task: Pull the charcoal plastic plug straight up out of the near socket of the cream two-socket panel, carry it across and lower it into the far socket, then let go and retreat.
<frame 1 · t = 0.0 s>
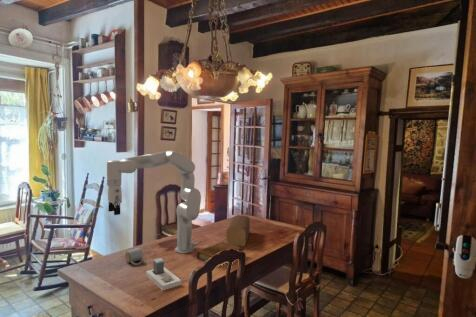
hand: (114, 212, 170), 31 cm above the table, fingers open, 9 cm apart
jack panel: (163, 280, 158), on the table
plug: (158, 276, 162), resting in jack panel
diary: (220, 258, 190), on the table
ceramic mug: (135, 262, 180), on the table
bread: (238, 239, 227), on the table
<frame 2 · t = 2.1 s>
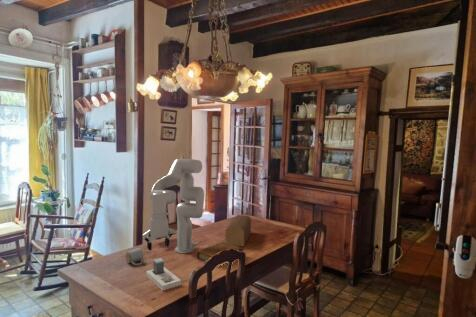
hand: (158, 247, 161), 16 cm above the table, fingers open, 9 cm apart
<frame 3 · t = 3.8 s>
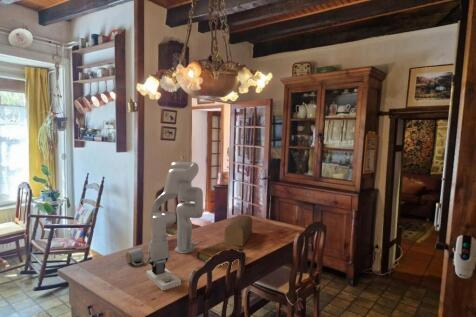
hand: (158, 271, 162), 3 cm above the table, fingers closed on plug, 4 cm apart
plug: (158, 276, 162), resting in jack panel, touching gripper
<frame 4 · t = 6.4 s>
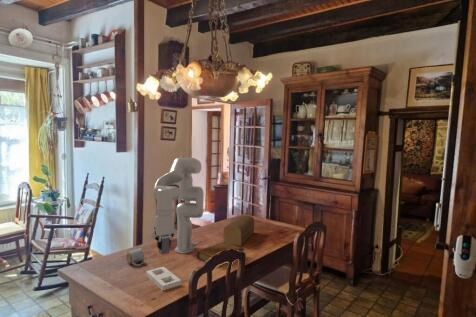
hand: (164, 247, 156), 18 cm above the table, fingers closed on plug, 4 cm apart
plug: (163, 252, 156), point 15 cm above the table, touching gripper
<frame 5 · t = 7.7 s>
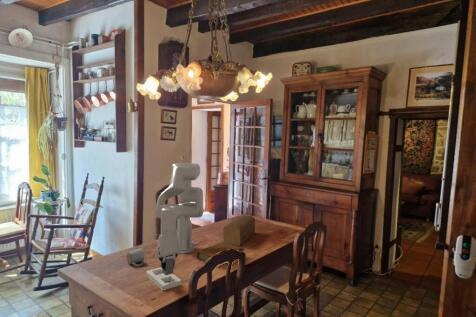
hand: (167, 267, 153), 9 cm above the table, fingers closed on plug, 4 cm apart
plug: (167, 273, 153), point 6 cm above the table, touching gripper
when the fingers open (4 cm above the table, at t = 8.9 s): plug drops 1 cm, resting in jack panel.
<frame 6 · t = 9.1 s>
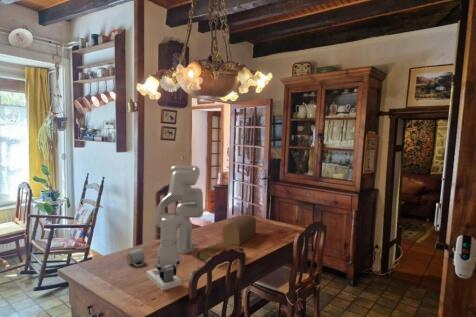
hand: (168, 276, 154), 4 cm above the table, fingers open, 6 cm apart
plug: (167, 284, 154), resting in jack panel
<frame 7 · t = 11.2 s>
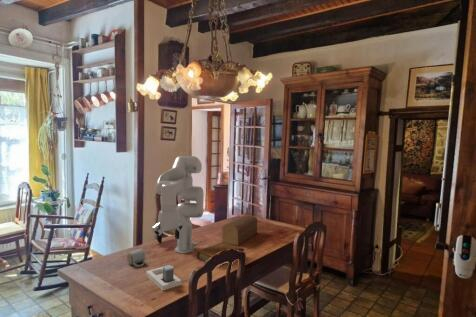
hand: (168, 240, 156), 21 cm above the table, fingers open, 9 cm apart
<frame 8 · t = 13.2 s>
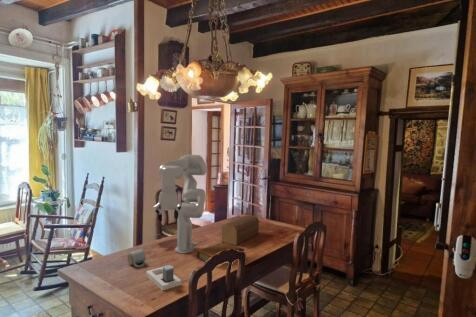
hand: (168, 219, 170), 28 cm above the table, fingers open, 9 cm apart
at the end: plug 0.1 cm from the target spot on the jack panel, point 0.0 cm above the jack panel's base; plug tilted 0°; the gripper is holding nothing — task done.
